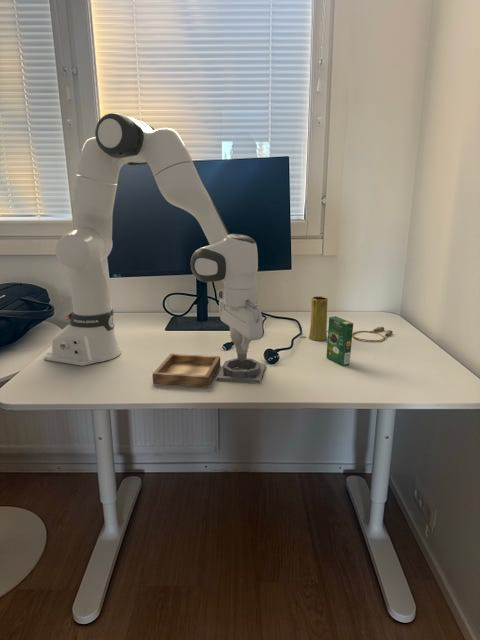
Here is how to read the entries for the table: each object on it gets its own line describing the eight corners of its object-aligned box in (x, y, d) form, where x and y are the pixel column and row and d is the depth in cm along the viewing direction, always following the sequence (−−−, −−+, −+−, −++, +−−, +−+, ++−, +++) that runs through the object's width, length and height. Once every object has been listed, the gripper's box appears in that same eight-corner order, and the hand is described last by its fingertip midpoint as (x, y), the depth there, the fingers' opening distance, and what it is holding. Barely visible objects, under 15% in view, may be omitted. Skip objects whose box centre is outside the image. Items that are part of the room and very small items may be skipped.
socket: (216, 380, 119) (216, 371, 118) (225, 363, 130) (225, 355, 129) (260, 383, 117) (260, 374, 116) (265, 366, 128) (265, 358, 127)
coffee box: (351, 365, 128) (354, 322, 125) (343, 367, 127) (346, 323, 123) (333, 356, 135) (335, 315, 131) (325, 358, 134) (328, 316, 130)
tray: (153, 384, 116) (152, 373, 116) (171, 363, 131) (170, 353, 130) (208, 388, 114) (208, 377, 113) (220, 366, 128) (220, 356, 127)
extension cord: (402, 341, 150) (403, 336, 149) (360, 344, 147) (360, 339, 146) (384, 330, 161) (385, 325, 161) (344, 333, 158) (345, 328, 158)
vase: (319, 342, 148) (321, 301, 144) (305, 337, 152) (306, 297, 148) (330, 338, 152) (332, 298, 148) (316, 334, 156) (318, 295, 152)
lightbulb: (227, 363, 121) (226, 325, 118) (236, 355, 126) (235, 319, 123) (248, 366, 119) (247, 328, 115) (256, 358, 124) (255, 321, 121)
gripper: (269, 304, 109) (267, 356, 113) (235, 288, 127) (235, 333, 131) (246, 307, 107) (245, 360, 110) (215, 289, 124) (215, 336, 128)
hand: (239, 345), depth 121 cm, fingers closed on lightbulb, 4 cm apart
